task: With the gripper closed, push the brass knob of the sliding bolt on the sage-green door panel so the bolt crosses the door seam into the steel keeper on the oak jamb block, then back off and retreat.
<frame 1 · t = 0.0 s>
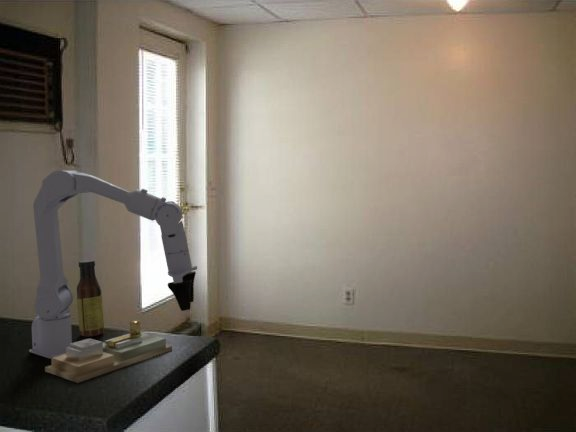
hand: (187, 306, 142), 11 cm above the counter, tool pointing down, fingers open, 7 cm apart
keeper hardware: (105, 343, 133), on the door and jamb, point 4 cm above the counter
bolt: (125, 333, 137), point 5 cm above the counter, slide at 0.0 cm
door and jamb: (111, 360, 134), on the counter
sauce bottle: (91, 335, 156), on the counter
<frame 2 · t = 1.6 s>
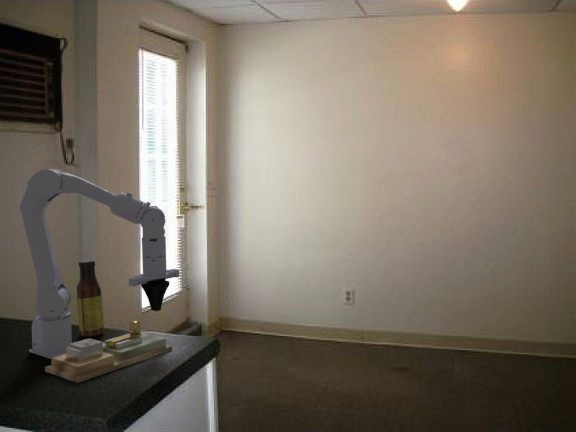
hand: (156, 310, 145), 9 cm above the counter, tool pointing down, fingers closed
nothing on the counter moved.
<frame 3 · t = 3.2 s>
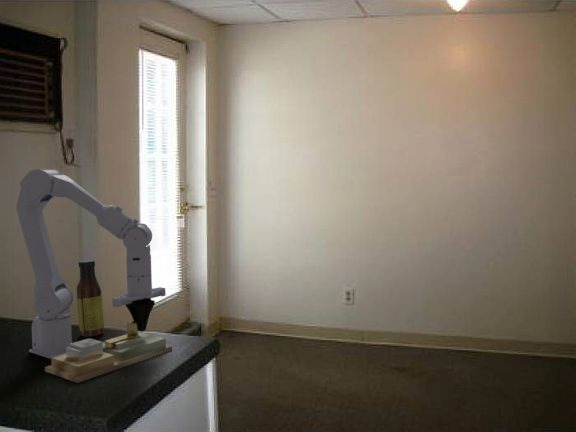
hand: (141, 330, 141), 5 cm above the counter, tool pointing down, fingers closed
bolt: (122, 334, 137), point 5 cm above the counter, slide at 0.8 cm, touching gripper
everything else where it was.
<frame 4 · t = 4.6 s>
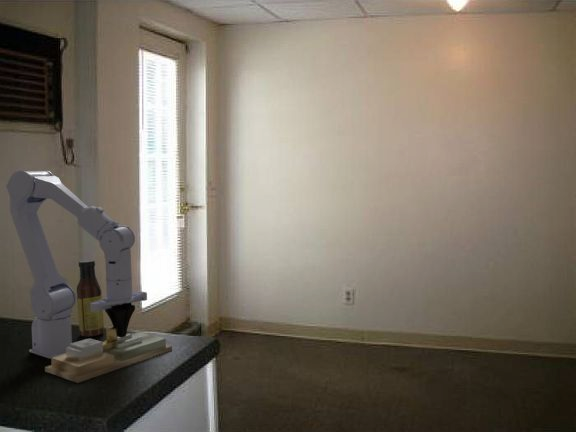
hand: (121, 336, 136), 5 cm above the counter, tool pointing down, fingers closed
bolt: (101, 340, 132), point 5 cm above the counter, slide at 6.8 cm, touching gripper
everything else where it was.
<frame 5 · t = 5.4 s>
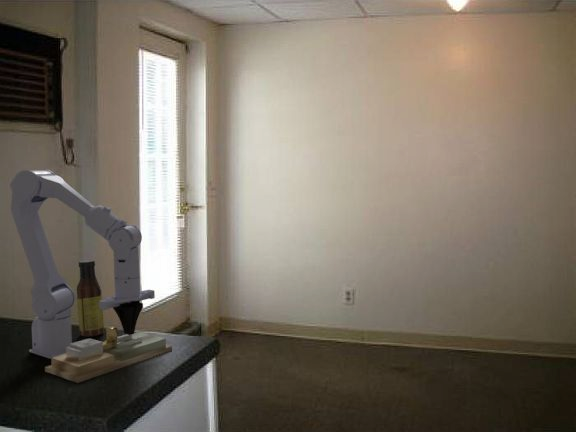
hand: (129, 333, 138), 5 cm above the counter, tool pointing down, fingers closed
bolt: (101, 340, 132), point 5 cm above the counter, slide at 6.8 cm
everything else where it was.
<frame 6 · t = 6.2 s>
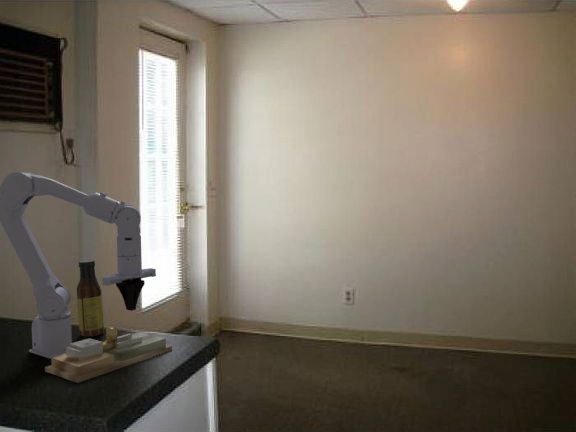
hand: (131, 309, 144), 9 cm above the counter, tool pointing down, fingers closed
nothing on the counter moved.
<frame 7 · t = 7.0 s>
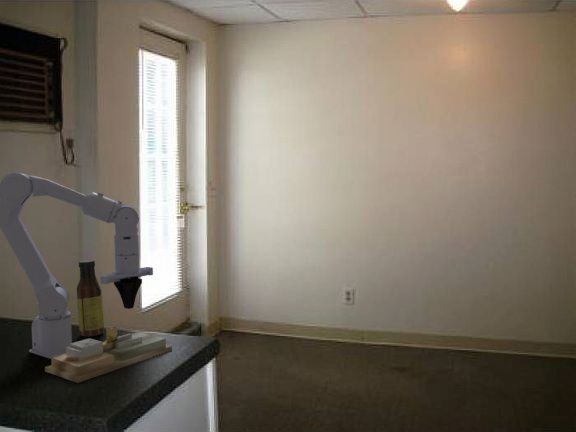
hand: (128, 307, 145), 9 cm above the counter, tool pointing down, fingers closed
nothing on the counter moved.
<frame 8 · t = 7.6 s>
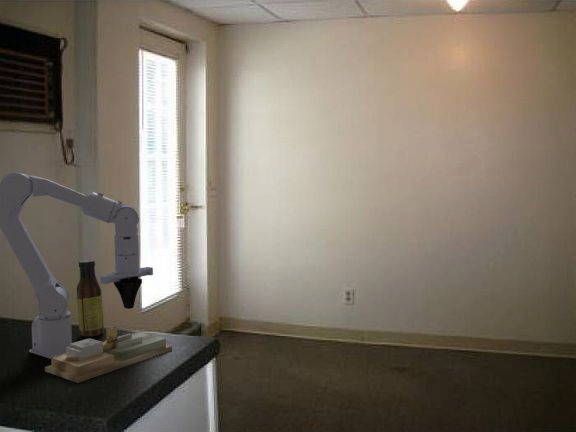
hand: (128, 307, 145), 9 cm above the counter, tool pointing down, fingers closed
nothing on the counter moved.
at the end: bolt slide at 6.8 cm; sauce bottle moved 0.2 cm from its start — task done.
